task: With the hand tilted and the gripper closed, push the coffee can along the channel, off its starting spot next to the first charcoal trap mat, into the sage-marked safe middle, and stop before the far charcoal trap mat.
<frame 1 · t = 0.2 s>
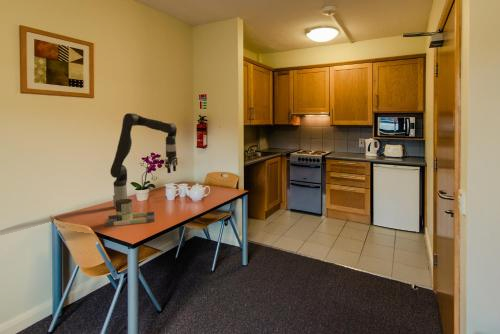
hand: (171, 172, 223), 29 cm above the table, tool pointing down, fingers open, 8 cm apart
push track: (131, 220, 203), on the table
coffee can: (124, 221, 201), on the table
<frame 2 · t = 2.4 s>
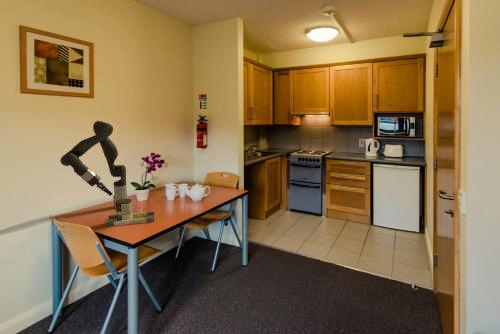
hand: (110, 193, 196), 19 cm above the table, tool tilted 40°, fingers open, 8 cm apart
nothing on the table moved.
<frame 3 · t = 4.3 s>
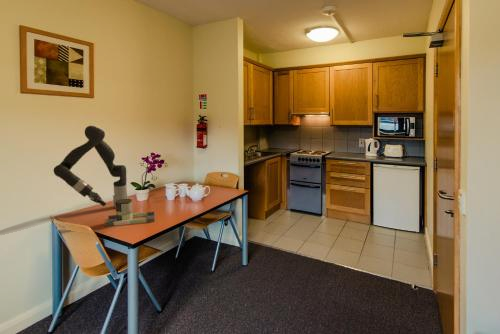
hand: (105, 205, 196), 12 cm above the table, tool tilted 45°, fingers closed
nothing on the table moved.
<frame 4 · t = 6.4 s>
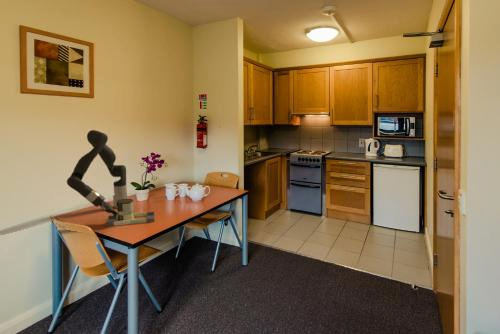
hand: (116, 214, 199), 5 cm above the table, tool tilted 45°, fingers closed
coffee can: (126, 221, 202), on the table, touching gripper
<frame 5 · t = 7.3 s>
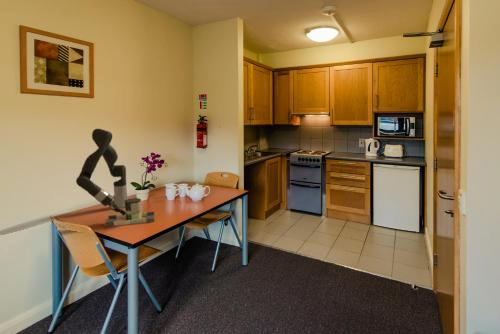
hand: (124, 214, 201), 5 cm above the table, tool tilted 45°, fingers closed
coffee can: (134, 220, 203), on the table, touching gripper
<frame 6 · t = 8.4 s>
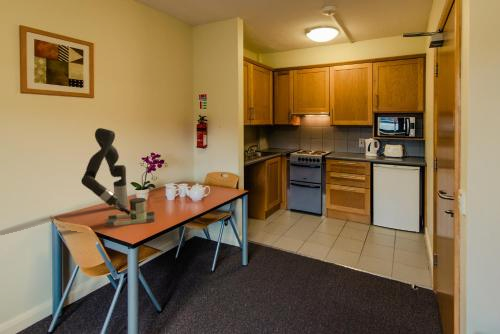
hand: (129, 213, 202), 5 cm above the table, tool tilted 45°, fingers closed
coffee can: (138, 219, 204), on the table, touching gripper
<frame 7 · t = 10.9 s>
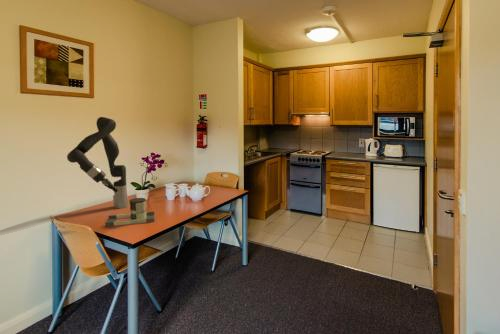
hand: (117, 191, 200), 20 cm above the table, tool tilted 40°, fingers closed
coffee can: (138, 220, 204), on the table
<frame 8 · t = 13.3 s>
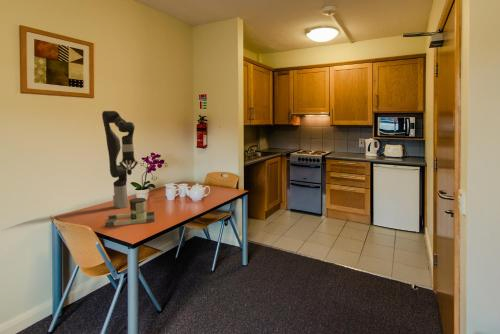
hand: (129, 174, 213), 29 cm above the table, tool pointing down, fingers closed
nothing on the table moved.
at the end: coffee can inside the target area on the push track (0.2 cm from its centre), point 0.0 cm above the push track's base; coffee can tilted 0°; coffee can moved 8.9 cm from its start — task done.
